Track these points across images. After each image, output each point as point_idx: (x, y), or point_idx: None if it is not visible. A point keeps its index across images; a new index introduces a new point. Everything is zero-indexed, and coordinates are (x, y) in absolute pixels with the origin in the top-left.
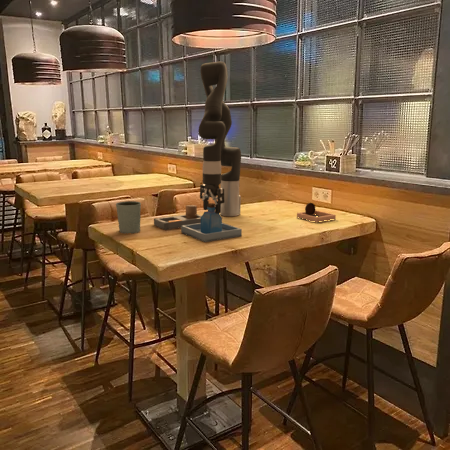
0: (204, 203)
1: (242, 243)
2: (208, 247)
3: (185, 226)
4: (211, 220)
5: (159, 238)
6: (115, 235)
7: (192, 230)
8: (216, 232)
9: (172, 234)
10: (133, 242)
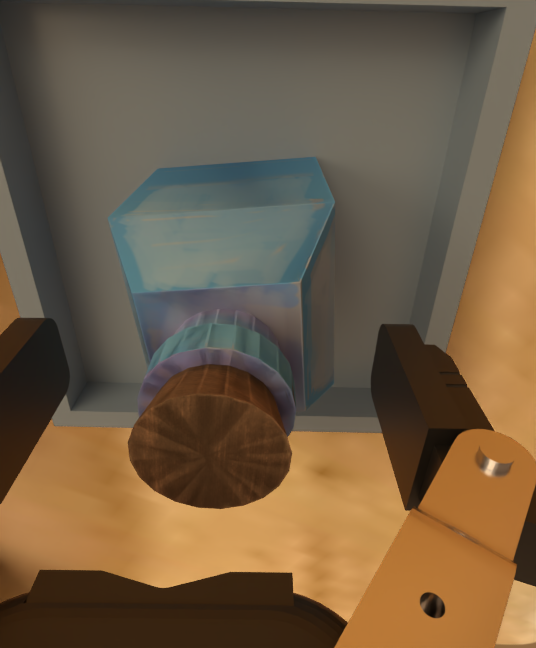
0: (20, 465)
1: None
2: (513, 431)
3: (95, 414)
4: (332, 365)
5: (162, 523)
6: None
7: None
8: (436, 330)
9: (101, 444)
10: None
